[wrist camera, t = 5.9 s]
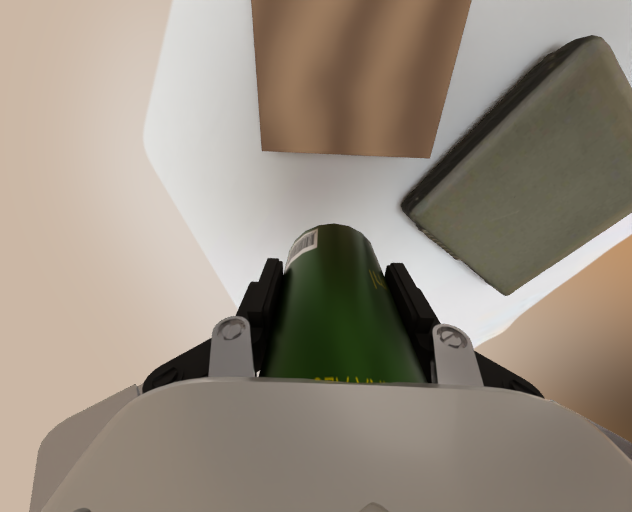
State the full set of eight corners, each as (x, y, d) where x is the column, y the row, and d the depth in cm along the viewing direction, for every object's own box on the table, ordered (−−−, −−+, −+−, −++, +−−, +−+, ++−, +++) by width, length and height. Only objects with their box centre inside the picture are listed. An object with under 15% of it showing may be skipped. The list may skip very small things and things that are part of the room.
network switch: (384, 219, 33) (394, 234, 29) (533, 24, 23) (584, 0, 18) (496, 285, 39) (519, 306, 34) (656, 152, 28) (718, 157, 24)
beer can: (273, 264, 15) (170, 571, 5) (323, 200, 13) (334, 514, 3) (336, 302, 17) (361, 598, 6) (391, 251, 15) (565, 575, 4)
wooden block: (441, -17, 21) (490, -73, 15) (405, 150, 28) (429, 158, 22) (266, -26, 21) (245, -86, 15) (274, 145, 28) (261, 151, 22)
